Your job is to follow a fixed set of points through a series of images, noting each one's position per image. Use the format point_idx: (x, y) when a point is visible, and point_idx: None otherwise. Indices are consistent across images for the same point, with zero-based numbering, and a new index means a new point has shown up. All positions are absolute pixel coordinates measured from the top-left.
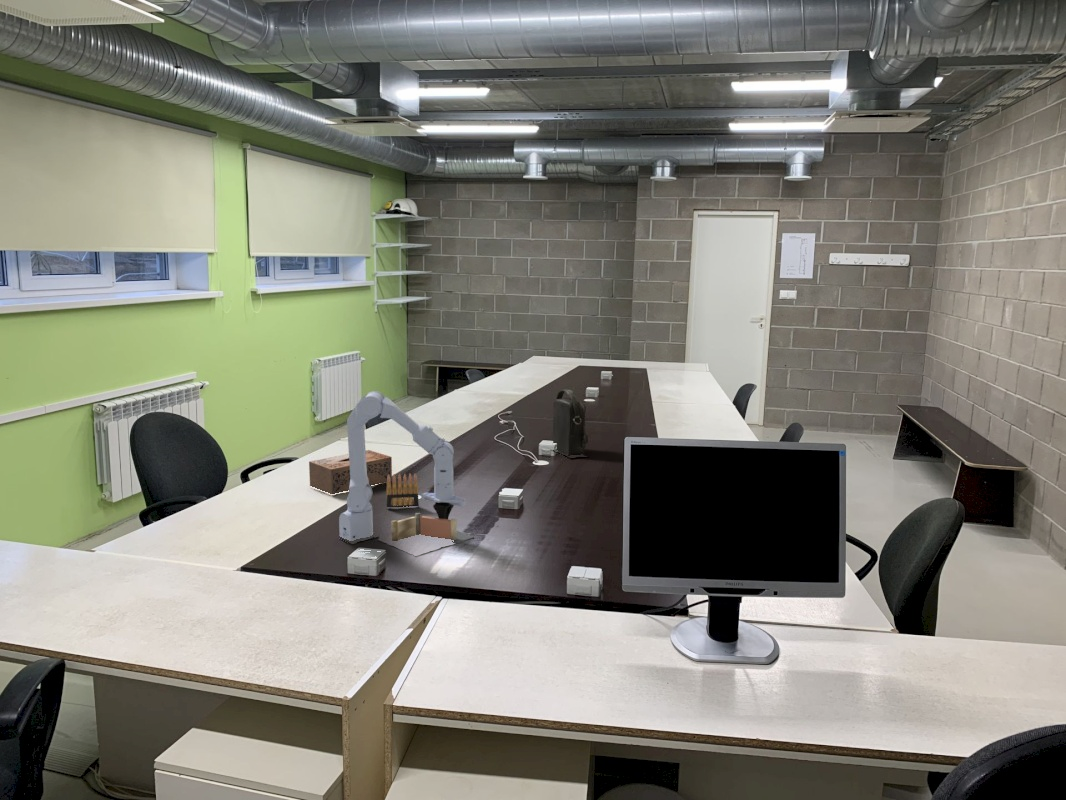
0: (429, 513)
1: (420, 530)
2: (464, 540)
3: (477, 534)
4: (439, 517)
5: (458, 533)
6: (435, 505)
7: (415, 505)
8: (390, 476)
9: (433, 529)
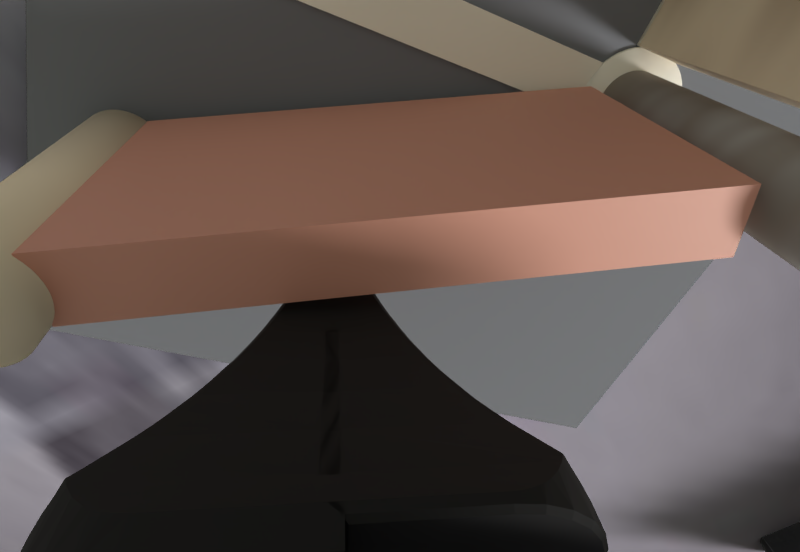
0: (670, 515)
1: None
2: None
3: (91, 396)
4: (367, 317)
5: (241, 332)
6: (514, 546)
7: (793, 549)
8: None
9: (416, 131)
